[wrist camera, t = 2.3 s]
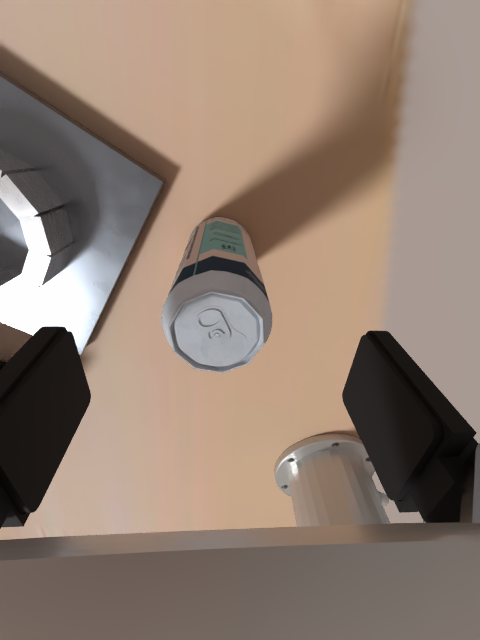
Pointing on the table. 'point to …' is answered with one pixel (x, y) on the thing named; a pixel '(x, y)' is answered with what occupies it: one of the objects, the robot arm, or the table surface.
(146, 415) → the table surface
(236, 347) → the beer can
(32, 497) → the robot arm
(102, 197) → the grey square plate
